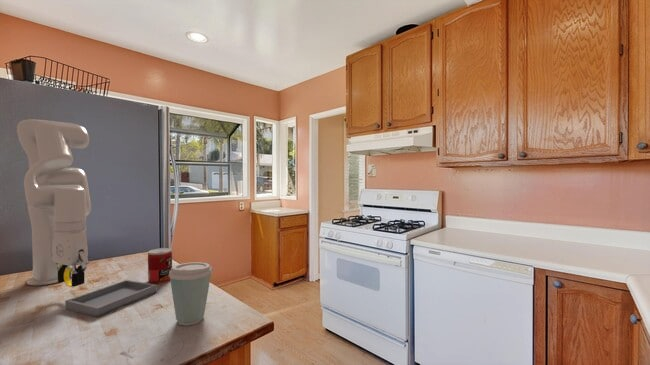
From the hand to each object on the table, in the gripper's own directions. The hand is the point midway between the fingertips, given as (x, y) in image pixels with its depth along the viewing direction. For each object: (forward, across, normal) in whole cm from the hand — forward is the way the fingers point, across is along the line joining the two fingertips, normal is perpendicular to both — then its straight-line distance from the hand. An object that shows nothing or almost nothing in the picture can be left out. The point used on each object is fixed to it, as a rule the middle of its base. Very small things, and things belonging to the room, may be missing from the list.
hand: (71, 282), depth 91 cm
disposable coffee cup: (+3, +46, +3) cm, 46 cm away
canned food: (+5, +12, +22) cm, 25 cm away
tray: (+4, +14, +4) cm, 15 cm away
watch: (+1, 0, 0) cm, 1 cm away
